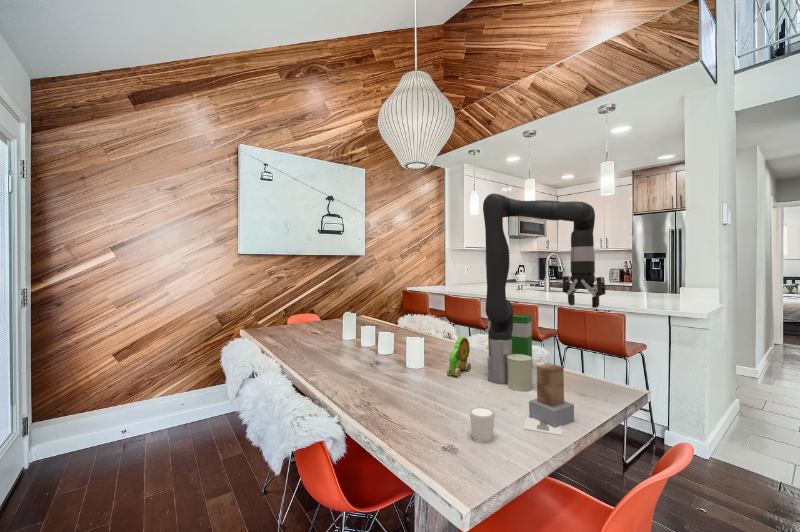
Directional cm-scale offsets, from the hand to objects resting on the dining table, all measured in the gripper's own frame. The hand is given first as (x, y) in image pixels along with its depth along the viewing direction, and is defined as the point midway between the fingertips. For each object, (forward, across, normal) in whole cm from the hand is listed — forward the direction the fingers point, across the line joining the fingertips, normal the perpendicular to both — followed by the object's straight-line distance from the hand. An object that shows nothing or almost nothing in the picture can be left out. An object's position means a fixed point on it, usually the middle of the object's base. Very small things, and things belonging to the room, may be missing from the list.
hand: (583, 306), depth 123 cm
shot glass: (+32, +1, -49) cm, 59 cm away
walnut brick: (+27, +4, -24) cm, 36 cm away
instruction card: (+32, +6, -30) cm, 44 cm away
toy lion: (+32, -46, -18) cm, 59 cm away
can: (+32, -20, -10) cm, 39 cm away
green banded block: (+32, -40, +6) cm, 52 cm away
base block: (+32, +4, -24) cm, 40 cm away
